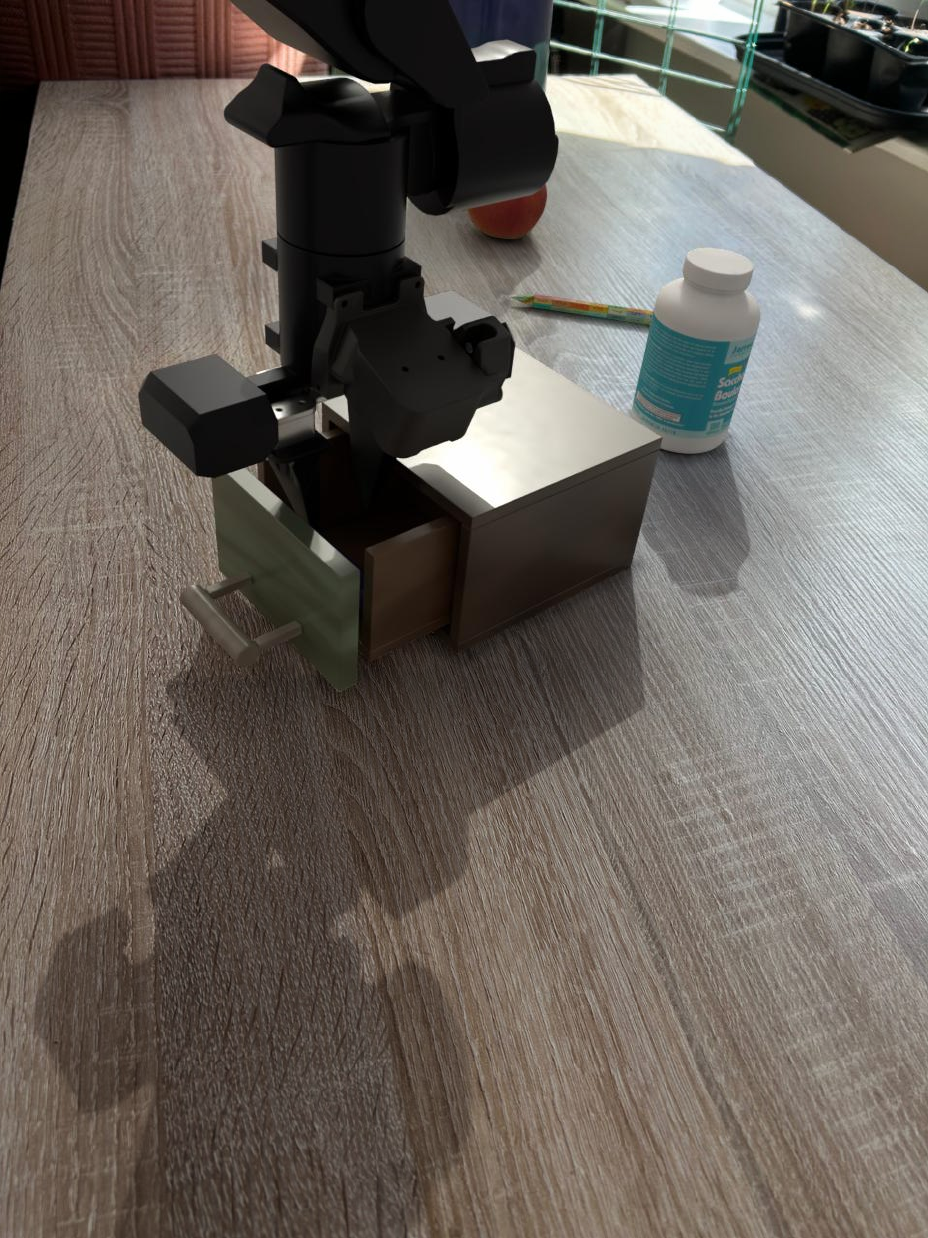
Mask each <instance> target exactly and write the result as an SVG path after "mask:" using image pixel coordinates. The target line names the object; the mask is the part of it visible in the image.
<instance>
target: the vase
mask: <svg viewBox="0 0 928 1238" xmlns="http://www.w3.org/2000/svg"><path fill="white" fill-rule="evenodd" d="M448 1H449V3H450V5H451V7H452V9H453V12H454V14H455V16H456V18H457V20H458V22H459V24H460V27H461V29H462V31H463V33H464V35H465V37H466V39H467V42H468V44H469V46H470V48H471V49H472V48H476V47H479V46H481V45H483V44H485V43H488V42H492V41H499V40H510V41H512V42H515V43H518V44H520V45H523V46H526V47H528V48H531V49H533V50H535V52H536V53H537V59H536V68H535V76H534V78H535V79H536V80H537V82H538V83H539V85H540V86H541V88H542V89H543V91H544V92H545V93H547V92H546V91H547V81H548V71H549V61H550V60H549V59H550V46H551V35H552V22H553V11H554V10H553V9H554V8H553V7H554V0H448Z"/></svg>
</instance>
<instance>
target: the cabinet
mask: <svg viewBox="0 0 928 1238" xmlns="http://www.w3.org/2000/svg"><path fill="white" fill-rule="evenodd" d="M502 390H503V398H502V400H501V401H499V402H496V403H493V404H490V405H487V406H484V407H481V408H479V409H477V410H476V412H475V414H474V416H473V418H472V421H471V423H470V425H469V427H468V429H467V432H466V434H465V435H464V436H463V437H462V438H461V439H459V440H456V441H453V442H450V441H447V442H444V443H441V444H439V445H436V446H433V447H430V448H428V449H425V450H423V451H421V452H420V453H419V454H417V455H415V456H413V457H409V458H404V459H402V458H397V459H396V462H395V464H394V466H393V468H392V469H393V470H395V471H396V472H397V473H398V474H400V475H401V476H402V477H404V478H405V479H406V480H407V481H409V482H410V483H411V484H412V485H414V486H415V487H416V488H418V489H419V490H420V491H421V492H423V493H424V494H425V495H427V496H428V497H429V498H430V499H432V500H433V501H434V502H435V503H437V504H438V505H439V506H441V507H442V508H443V509H444V510H446V511H447V512H448V513H450V514H451V515H452V516H453V517H455V518H456V519H457V520H458V521H460V522H461V523H462V525H461V534H460V543H459V553H458V562H457V572H456V581H455V591H454V600H453V610H452V619H451V623H450V624H447V625H445V626H443V627H441V628H439V629H437V630H435V631H433V632H431V633H432V634H433V635H435V636H436V637H437V638H438V639H439V640H440V641H441V642H442V643H443V644H444V645H446V646H447V648H449V650H451V651H452V652H453V653H454V654H456V655H459V654H460V653H462V652H465V651H467V650H468V649H470V648H473V647H475V646H476V645H478V644H480V643H482V642H484V641H487V640H488V639H490V638H493V637H494V636H496V635H499V634H500V633H502V632H505V631H506V630H509V629H510V628H512V627H514V626H516V625H518V624H520V623H522V622H524V621H525V620H528V619H529V618H532V617H534V616H536V615H537V614H540V613H542V612H544V611H545V610H547V609H550V608H552V607H554V606H556V605H558V604H560V603H561V602H563V601H565V600H567V599H569V598H571V597H574V596H575V595H577V594H580V593H581V592H583V591H586V590H587V589H589V588H590V587H593V586H595V585H596V584H599V583H601V582H602V581H605V580H607V579H609V578H611V577H613V576H614V575H617V574H619V573H620V572H623V571H625V570H627V569H628V568H630V567H632V565H633V561H634V556H635V553H636V548H637V544H638V541H639V537H640V534H641V533H640V532H641V529H642V525H643V520H644V517H645V512H646V508H647V503H648V499H649V495H650V490H651V487H652V483H653V480H654V479H653V478H654V475H655V471H656V467H657V462H658V458H659V453H660V450H661V448H660V447H661V443H662V439H663V437H661V436H660V435H658V434H657V433H655V432H653V431H652V430H650V429H648V428H647V427H645V426H644V425H642V424H640V423H639V422H637V421H635V420H634V419H632V418H631V416H629V415H627V414H626V413H624V412H622V411H621V410H620V409H618V408H616V407H614V406H613V405H611V404H609V403H608V402H606V401H605V400H603V399H601V398H600V397H598V396H596V395H595V394H593V393H592V392H590V391H588V390H586V389H585V388H584V387H582V386H580V385H579V384H577V383H575V382H574V381H572V380H570V379H569V378H567V377H566V376H564V375H562V374H560V373H559V372H557V371H556V370H554V369H552V368H551V367H549V366H548V365H546V364H544V363H543V362H541V361H540V360H538V359H536V358H535V357H533V356H531V355H530V354H528V353H527V352H525V351H524V350H522V349H520V348H519V347H517V346H515V352H514V360H513V368H512V375H511V378H508V379H505V381H504V383H503V385H502ZM338 427H340V428H341V429H342V430H343V431H345V432H346V433H347V434H349V435H350V431H349V418H348V405H347V399H346V397H345V395H343V396H340V397H337V398H334V399H331V400H328V401H325V402H321V433H323V432H326V431H329V430H332V429H335V428H338Z"/></svg>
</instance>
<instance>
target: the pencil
mask: <svg viewBox="0 0 928 1238" xmlns="http://www.w3.org/2000/svg"><path fill="white" fill-rule="evenodd" d="M510 298H511V299H513V300H516V301H518V302H520V303H522V304H525V305H527V306H529V307H531V308H535V309H543V310H549V311H557V312H561V313H569V314H576V315H584V316H590V317H596V318H597V317H598V318H603V319H609V320H617V321H624V322H628V323H629V322H630V323H635V324H636V323H637V324H643V325H650V324H651V319H652V315H653V311H652V310H645V309H639V308H633V307H626V306H619V305H613V304H607V303H598V302H591V301H586V300H585V301H584V300H579V299H571V298H564V297H558V296H552V295H545V294H544V295H543V294H538V293H532V294H524V295H515V296H510Z"/></svg>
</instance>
